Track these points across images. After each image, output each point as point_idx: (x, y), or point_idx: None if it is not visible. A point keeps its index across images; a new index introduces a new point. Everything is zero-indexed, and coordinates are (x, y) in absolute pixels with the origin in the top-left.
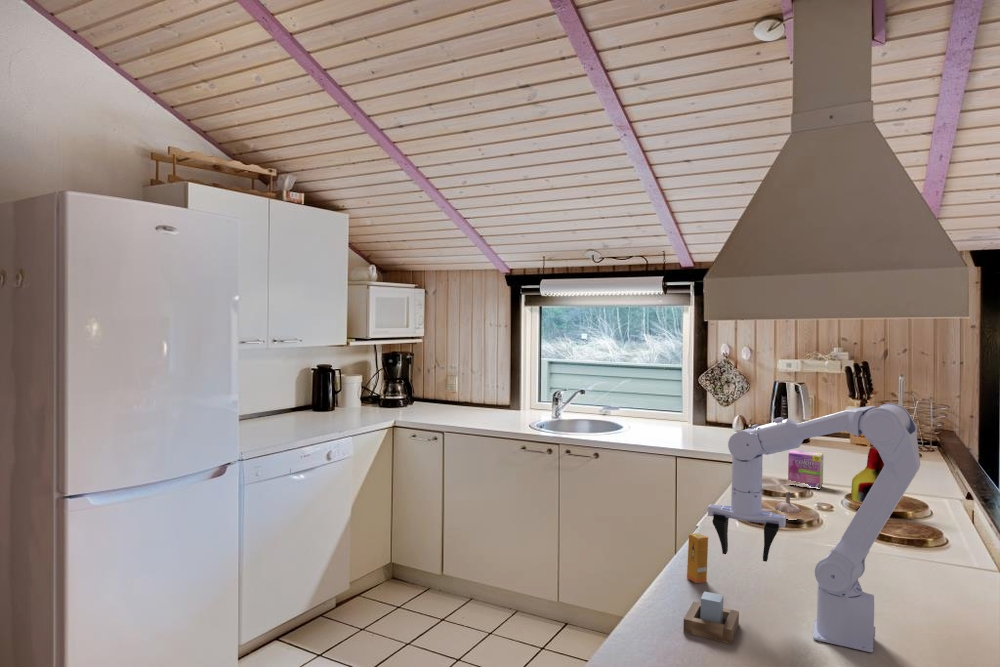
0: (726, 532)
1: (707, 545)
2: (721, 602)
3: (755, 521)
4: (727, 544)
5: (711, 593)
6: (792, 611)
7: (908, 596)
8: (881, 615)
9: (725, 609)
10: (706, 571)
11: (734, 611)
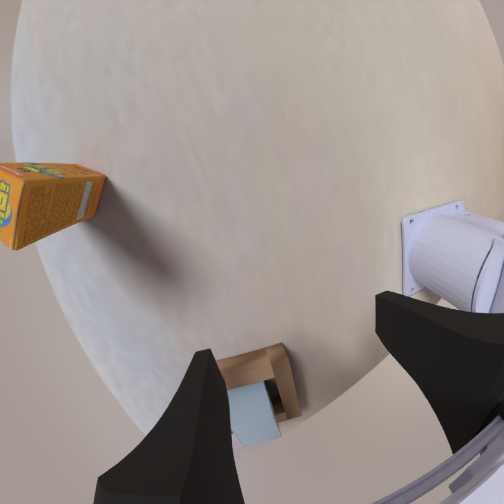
0: (216, 445)
1: (45, 184)
2: (277, 425)
3: (442, 470)
4: (211, 375)
5: (247, 425)
6: (356, 193)
7: (446, 13)
8: (456, 105)
9: (262, 373)
10: (93, 180)
11: (281, 366)
